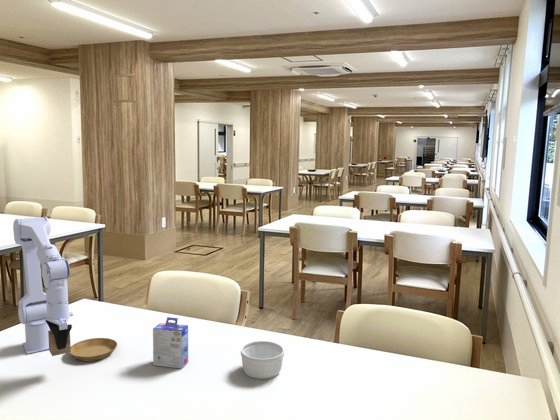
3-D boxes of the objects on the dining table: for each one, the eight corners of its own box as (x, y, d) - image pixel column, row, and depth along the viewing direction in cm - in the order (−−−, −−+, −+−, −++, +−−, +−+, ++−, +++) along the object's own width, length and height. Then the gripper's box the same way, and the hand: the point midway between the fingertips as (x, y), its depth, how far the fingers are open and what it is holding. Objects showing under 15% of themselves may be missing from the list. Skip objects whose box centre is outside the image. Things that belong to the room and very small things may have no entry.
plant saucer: (100, 341, 164) (100, 334, 164) (126, 352, 156) (126, 344, 155) (60, 356, 152) (59, 348, 152) (85, 368, 144) (85, 360, 143)
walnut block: (49, 350, 140) (48, 330, 139) (67, 346, 143) (66, 327, 142) (52, 356, 136) (51, 336, 135) (70, 352, 139) (69, 332, 138)
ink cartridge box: (189, 361, 149) (189, 317, 147) (182, 369, 144) (181, 324, 142) (160, 358, 151) (159, 315, 149) (152, 365, 146) (151, 321, 144)
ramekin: (290, 366, 147) (291, 345, 146) (272, 385, 135) (272, 362, 134) (253, 358, 152) (253, 337, 151) (232, 375, 141) (232, 353, 140)
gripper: (77, 305, 134) (79, 350, 135) (66, 292, 145) (68, 334, 147) (50, 310, 129) (53, 356, 131) (41, 296, 141) (43, 339, 143)
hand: (59, 345), depth 139 cm, fingers closed on walnut block, 5 cm apart
